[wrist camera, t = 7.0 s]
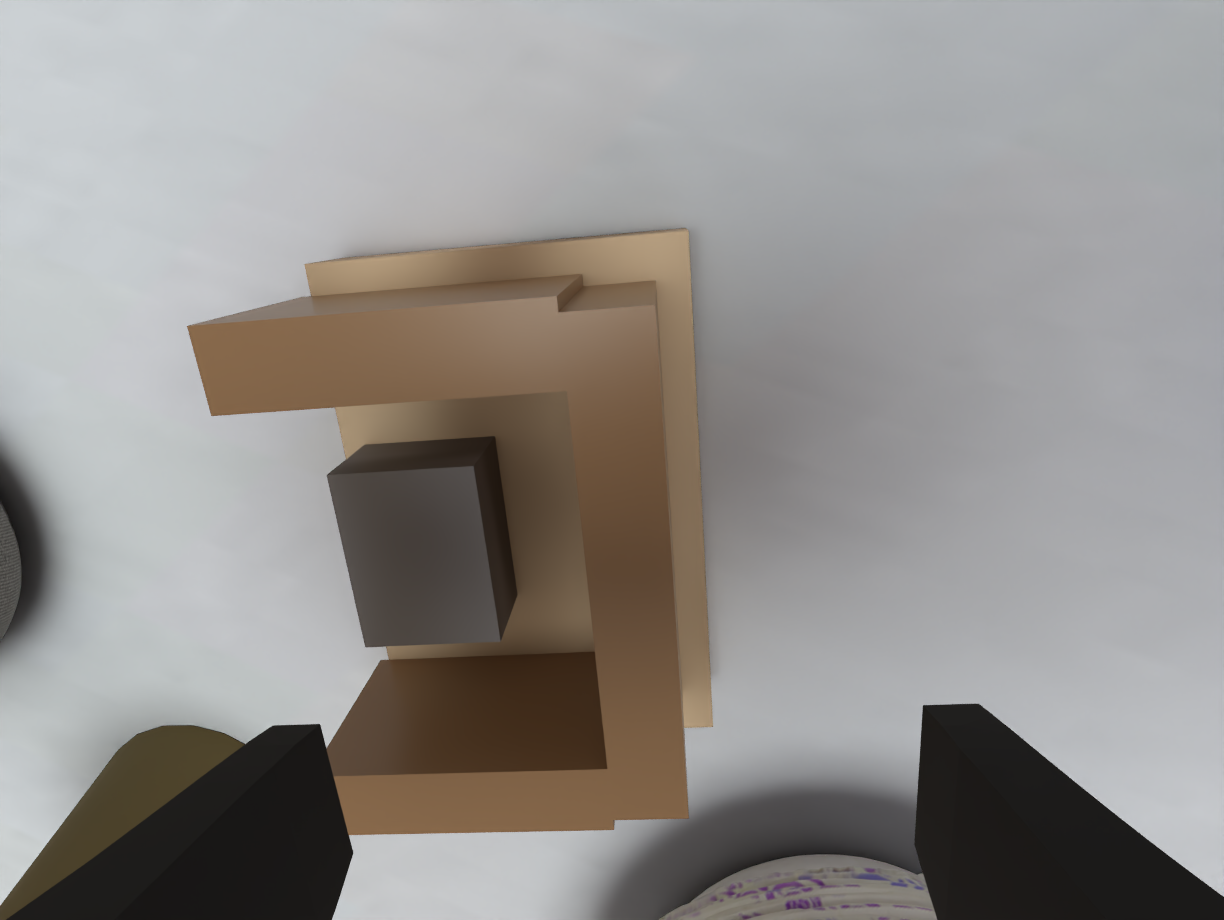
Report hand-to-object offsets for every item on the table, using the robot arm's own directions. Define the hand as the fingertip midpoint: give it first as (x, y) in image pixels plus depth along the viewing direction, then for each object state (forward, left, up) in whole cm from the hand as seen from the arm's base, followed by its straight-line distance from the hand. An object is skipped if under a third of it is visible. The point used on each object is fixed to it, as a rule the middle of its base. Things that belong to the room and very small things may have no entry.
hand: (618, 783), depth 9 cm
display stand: (+3, 0, -10) cm, 11 cm away
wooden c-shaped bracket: (+3, 0, -8) cm, 9 cm away
